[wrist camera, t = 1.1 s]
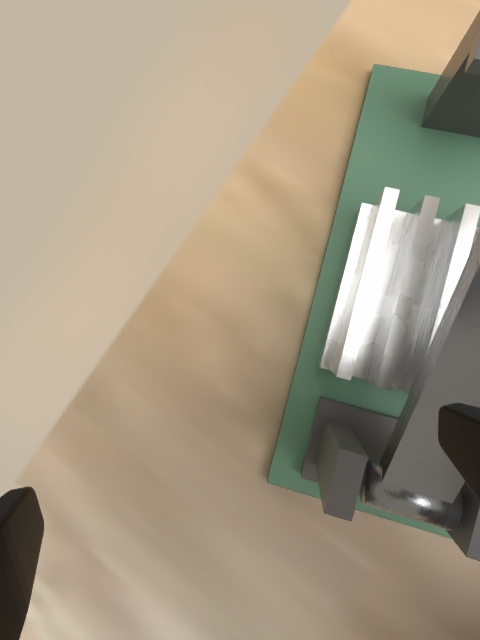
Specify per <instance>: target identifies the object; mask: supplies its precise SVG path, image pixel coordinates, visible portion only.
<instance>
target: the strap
mask: <svg viewBox="0 0 480 640" xmlns="http://www.w3.org/2000/svg"><path fill="white" fill-rule="evenodd" d="M452 403H463V404H467V405H471V406H475V407H479V408H480V231H479V233H478V236H477V238H476V240H475V243H474V245H473V247H472V249H471V252H470V254H469V256H468V259H467V261H466V263H465V266H464V268H463V270H462V273H461V275H460V277H459V280H458V282H457V284H456V287H455V289H454V291H453V293H452V296H451V298H450V300H449V303H448V305H447V307H446V310H445V312H444V314H443V317H442V319H441V321H440V324H439V326H438V328H437V331H436V333H435V335H434V337H433V340H432V342H431V344H430V347H429V349H428V351H427V354H426V356H425V358H424V361H423V363H422V365H421V368H420V370H419V372H418V374H417V377H416V379H415V381H414V384H413V386H412V388H411V391H410V393H409V395H408V398H407V400H406V402H405V405H404V407H403V409H402V412H401V414H400V416H399V418H398V421H397V423H396V425H395V428H394V430H393V432H392V435H391V437H390V439H389V442H388V444H387V446H386V449H385V451H384V453H383V455H382V458H381V460H380V462H379V463H376V462H373V461H368V462H367V463H366V467H365V471H364V475H363V479H362V483H361V487H360V502H361V504H363V505H367V506H370V507H373V508H377V509H380V510H383V511H387V512H390V513H393V514H397V515H400V516H403V517H407V518H410V519H413V520H416V521H420V522H423V523H426V524H430V525H433V526H436V527H440V528H443V529H446V530H450V531H453V530H454V529H455V528H456V527H457V526H458V524H459V522H460V519H461V515H462V508H463V501H462V495H461V491H460V489H461V488H462V486H463V484H464V482H465V480H464V479H463V477H462V476H461V475H460V473H459V472H458V470H457V469H456V468H455V466H454V465H453V463H452V462H451V461H450V459H449V458H448V457H447V455H446V454H445V452H444V451H443V450H442V448H441V446H440V444H439V441H438V412H439V409H440V407H441V406H443V405H447V404H452Z"/></svg>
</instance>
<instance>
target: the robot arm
mask: <svg viewBox="0 0 480 640" xmlns="http://www.w3.org/2000/svg"><path fill="white" fill-rule="evenodd" d="M438 441H439V444H440V446H441V448H442V450H443V451H444V452H445V454H446V455H447V457H448V458H449V459H450V461H451V462H452V463H453V465H454V466H455V468H456V469H457V470H458V472H459V473H460V475H461V476H462V477H463V479H464V480H465V481H466V483H467V484H468V486H469V487H470V488H471V490H472V491H473V493H474V494H475V495H476V497H477V498H478V499H479V501H480V408H479V407H475V406H471V405H467V404H463V403H452V404H447V405H443V406H441V407H440V409H439V412H438ZM43 533H44V520H43V516H42V513H41V509H40V506H39V503H38V499H37V496H36V493H35V491H34V489H33V488H32V487H23V488H18V489H13V490H10V491H8V492H7V493H6V494H4V495H3V496H2V497H0V640H19V638H20V635H21V632H22V629H23V625H24V622H25V619H26V615H27V611H28V608H29V603H30V599H31V594H32V589H33V584H34V579H35V574H36V569H37V563H38V558H39V553H40V548H41V543H42V538H43Z"/></svg>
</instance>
